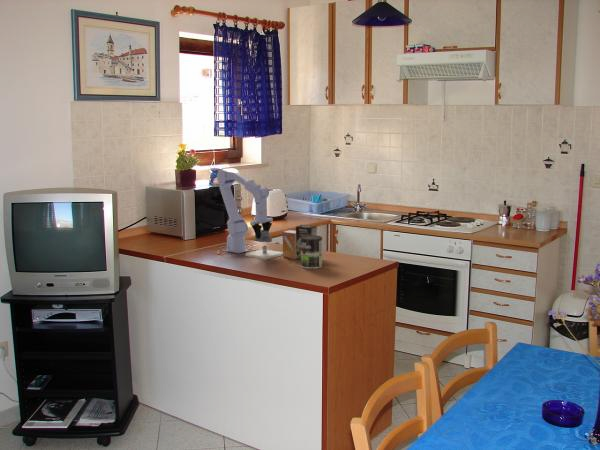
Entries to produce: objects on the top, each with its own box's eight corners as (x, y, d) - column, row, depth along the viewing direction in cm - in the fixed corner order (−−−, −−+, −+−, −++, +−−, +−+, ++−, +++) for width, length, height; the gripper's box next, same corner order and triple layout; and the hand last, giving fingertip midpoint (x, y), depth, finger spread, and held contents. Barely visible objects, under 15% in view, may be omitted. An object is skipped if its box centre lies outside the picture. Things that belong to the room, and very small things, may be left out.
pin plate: (245, 256, 352) (245, 246, 351) (264, 251, 362) (263, 241, 362) (265, 259, 343) (265, 249, 342) (284, 254, 354) (283, 244, 353)
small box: (282, 257, 348) (282, 231, 346) (290, 254, 353) (290, 229, 351) (295, 259, 343) (294, 233, 341) (303, 256, 348) (302, 231, 346)
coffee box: (295, 258, 344) (294, 226, 341) (301, 255, 350) (300, 224, 347) (311, 259, 340) (311, 227, 337) (317, 257, 345) (317, 225, 343)
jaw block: (255, 240, 351) (255, 231, 350) (262, 239, 354) (261, 229, 353) (266, 242, 345) (266, 232, 345) (273, 241, 349) (273, 231, 348)
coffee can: (311, 270, 320) (311, 240, 317) (296, 266, 327) (295, 237, 324) (327, 266, 327) (326, 236, 324) (311, 263, 334) (311, 234, 332)
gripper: (257, 213, 340) (257, 240, 343) (276, 209, 351) (277, 236, 353) (246, 212, 345) (247, 239, 347) (266, 208, 356) (267, 234, 358)
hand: (262, 237), depth 351 cm, fingers closed on jaw block, 5 cm apart
